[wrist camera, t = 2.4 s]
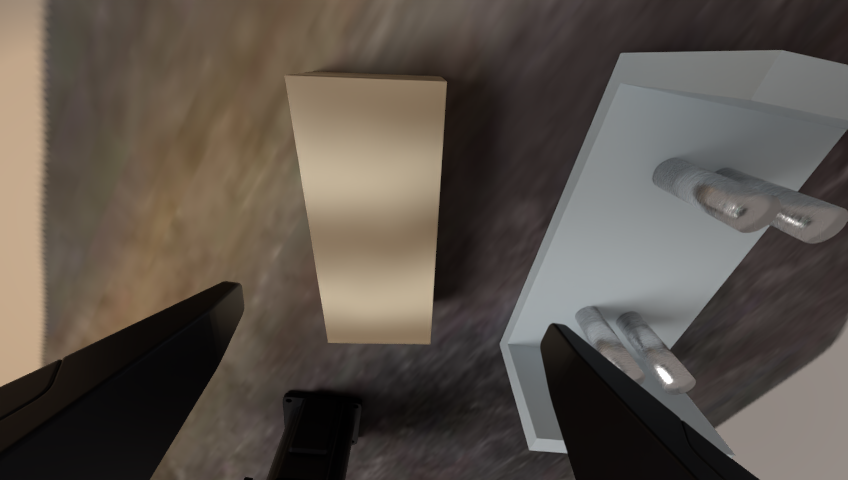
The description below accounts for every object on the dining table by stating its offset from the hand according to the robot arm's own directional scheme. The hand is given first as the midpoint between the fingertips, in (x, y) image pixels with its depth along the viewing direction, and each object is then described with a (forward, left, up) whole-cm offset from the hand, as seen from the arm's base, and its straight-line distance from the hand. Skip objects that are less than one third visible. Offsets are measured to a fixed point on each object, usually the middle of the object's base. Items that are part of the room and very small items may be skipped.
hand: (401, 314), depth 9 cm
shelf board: (-1, +1, -10) cm, 10 cm away
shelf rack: (-1, -15, -10) cm, 18 cm away
